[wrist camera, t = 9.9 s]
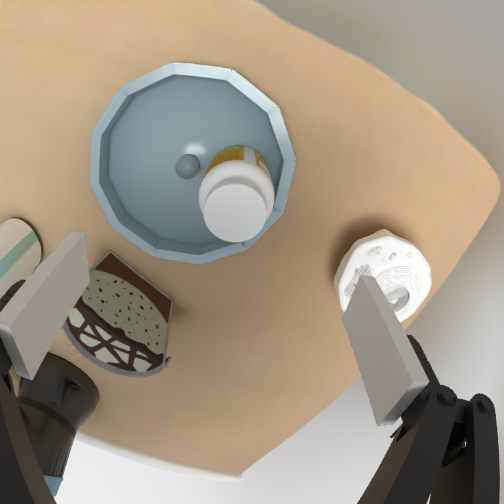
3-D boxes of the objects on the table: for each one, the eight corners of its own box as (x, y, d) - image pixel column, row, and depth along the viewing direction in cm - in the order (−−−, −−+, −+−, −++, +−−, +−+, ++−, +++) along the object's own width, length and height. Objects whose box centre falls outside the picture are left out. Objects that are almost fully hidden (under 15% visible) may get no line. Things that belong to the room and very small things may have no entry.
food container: (77, 273, 34) (39, 327, 25) (100, 241, 32) (59, 295, 23) (154, 332, 39) (136, 394, 30) (183, 307, 37) (168, 372, 28)
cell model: (394, 197, 30) (424, 225, 24) (421, 278, 35) (445, 313, 29) (309, 242, 33) (322, 279, 27) (350, 316, 38) (364, 355, 32)
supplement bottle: (200, 189, 29) (181, 236, 20) (220, 135, 26) (207, 159, 18) (255, 209, 30) (258, 263, 21) (278, 157, 27) (292, 192, 19)
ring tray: (101, 233, 32) (91, 246, 29) (111, 61, 23) (99, 60, 21) (266, 260, 34) (268, 275, 31) (308, 85, 25) (314, 85, 22)
